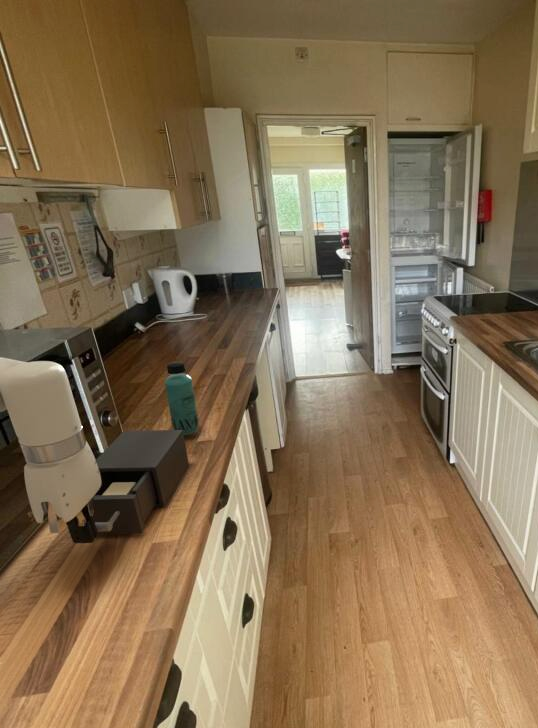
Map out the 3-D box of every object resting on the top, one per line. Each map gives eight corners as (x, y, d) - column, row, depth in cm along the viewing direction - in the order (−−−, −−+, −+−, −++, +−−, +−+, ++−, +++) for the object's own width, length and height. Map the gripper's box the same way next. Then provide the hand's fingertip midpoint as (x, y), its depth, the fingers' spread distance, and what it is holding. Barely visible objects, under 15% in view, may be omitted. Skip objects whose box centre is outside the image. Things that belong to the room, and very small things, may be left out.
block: (105, 515, 80) (100, 496, 79) (117, 500, 84) (112, 482, 83) (130, 515, 81) (125, 496, 79) (140, 500, 85) (136, 481, 83)
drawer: (130, 551, 74) (121, 515, 71) (61, 553, 73) (48, 517, 70) (170, 487, 90) (163, 456, 87) (114, 488, 90) (105, 457, 86)
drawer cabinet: (164, 507, 86) (155, 467, 82) (98, 509, 85) (86, 468, 81) (189, 465, 99) (182, 429, 96) (133, 467, 98) (124, 430, 95)
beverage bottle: (168, 438, 110) (153, 366, 102) (185, 426, 116) (172, 357, 108) (190, 442, 109) (177, 369, 101) (206, 430, 115) (195, 360, 107)
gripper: (60, 420, 70) (88, 510, 77) (-12, 474, 56) (31, 576, 64) (107, 420, 70) (131, 509, 78) (48, 473, 57) (83, 575, 64)
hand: (86, 539), depth 71 cm, fingers closed
